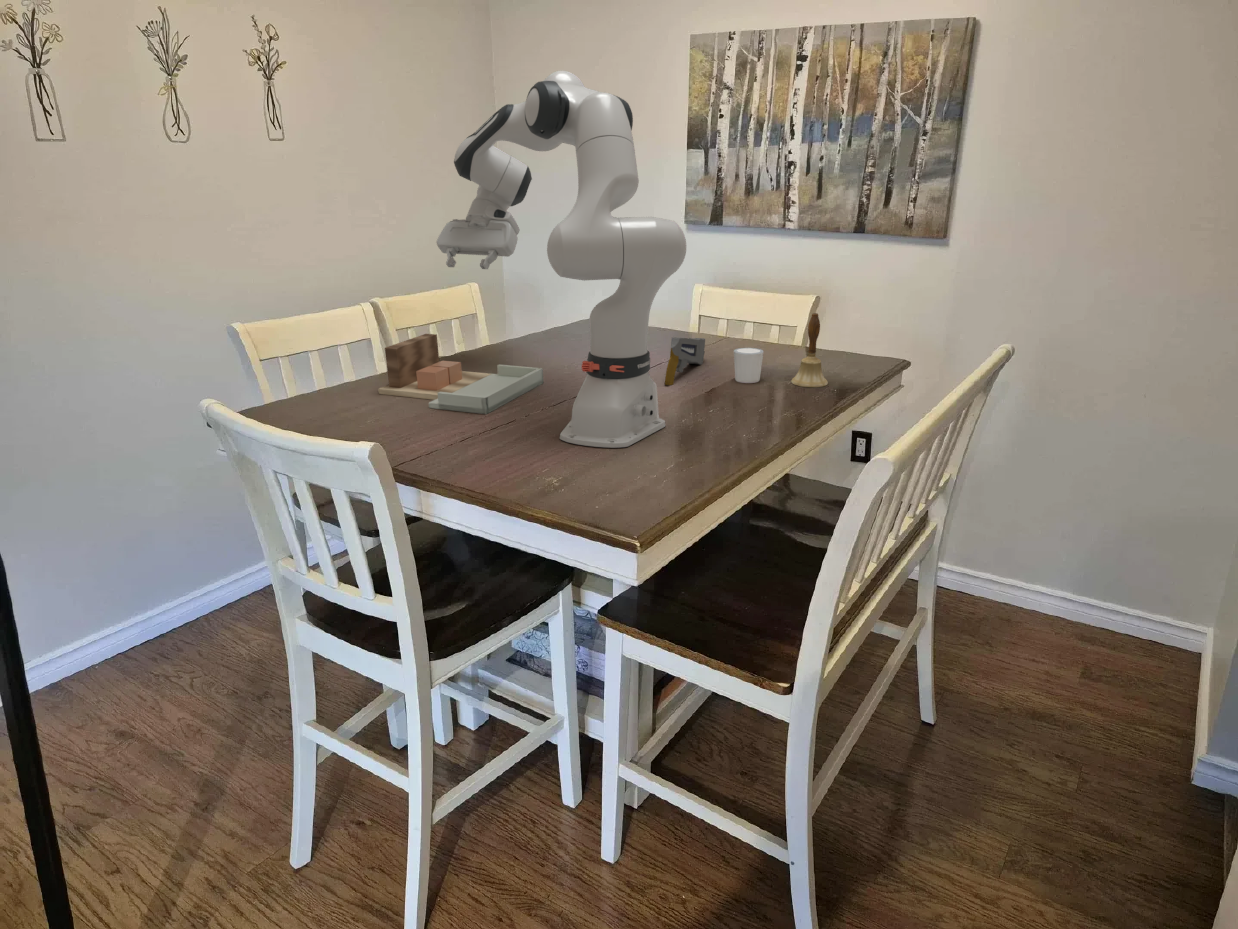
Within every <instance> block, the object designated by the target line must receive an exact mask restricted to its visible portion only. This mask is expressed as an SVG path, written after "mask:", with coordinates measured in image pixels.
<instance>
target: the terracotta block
mask: <svg viewBox="0 0 1238 929" xmlns="http://www.w3.org/2000/svg"><path fill="white" fill-rule="evenodd" d="M416 374H417V384H418V389H426V390H436V391H437V390H439V389H442V388H444V387H446V386H448V385H449V376H448V368H445V367H434V366H428V367H425V368H423V369H420V370H418V371H416Z"/></svg>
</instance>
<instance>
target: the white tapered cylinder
mask: <svg viewBox="0 0 1238 929" xmlns="http://www.w3.org/2000/svg"><path fill="white" fill-rule="evenodd" d="M763 357H764V350H763V349H761V348H755V347H739V348H735V349H733V362H734V363H733V364H734V380H735V381H736V382H737V383H742V384H753V383H758V382H760V380H761V372H762V365H763Z"/></svg>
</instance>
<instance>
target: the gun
mask: <svg viewBox="0 0 1238 929" xmlns="http://www.w3.org/2000/svg"><path fill="white" fill-rule="evenodd" d="M705 347H706V338H704V337H693V338H692V337H689V338H688V337H687V338H686V337H674V336H673V337H671V342H670V352H669V359H668V363H667V366H666V371H665V379H664V385H665V386H673V385H674V383H675V376H676V372H677V373H683V372H684V368H686V367H687V366H688V364H689V365H697V366H698V365H700V366H701V365H703V363H704V359H705V358H704V357H705Z"/></svg>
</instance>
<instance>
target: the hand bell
mask: <svg viewBox="0 0 1238 929" xmlns="http://www.w3.org/2000/svg"><path fill="white" fill-rule="evenodd" d="M807 325H808V326H807V327H808V328H807V334H808V340H809V341H808V342H809V344H808V349H807V350H808V351H807V356H806V357H803V358H802V359H801V360H800V365H799V369H798V371H797V373H796V374H795V376H794V377H792V378H791V380H790V383H791V384H792V385H795V386H797V387H801V388H822V387H826V386H827V385H828V384H829V381H828V380H827V379H826V377H825V376H824V373H823V371H822V360H821V359H820V358H818V357H817V355H816V353H817V350H816V349H817V341H818V338H819V335H820V330H821V322H820V318H819V313H816V312H813V313H811V317H810V319H809V321H808V324H807Z"/></svg>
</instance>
